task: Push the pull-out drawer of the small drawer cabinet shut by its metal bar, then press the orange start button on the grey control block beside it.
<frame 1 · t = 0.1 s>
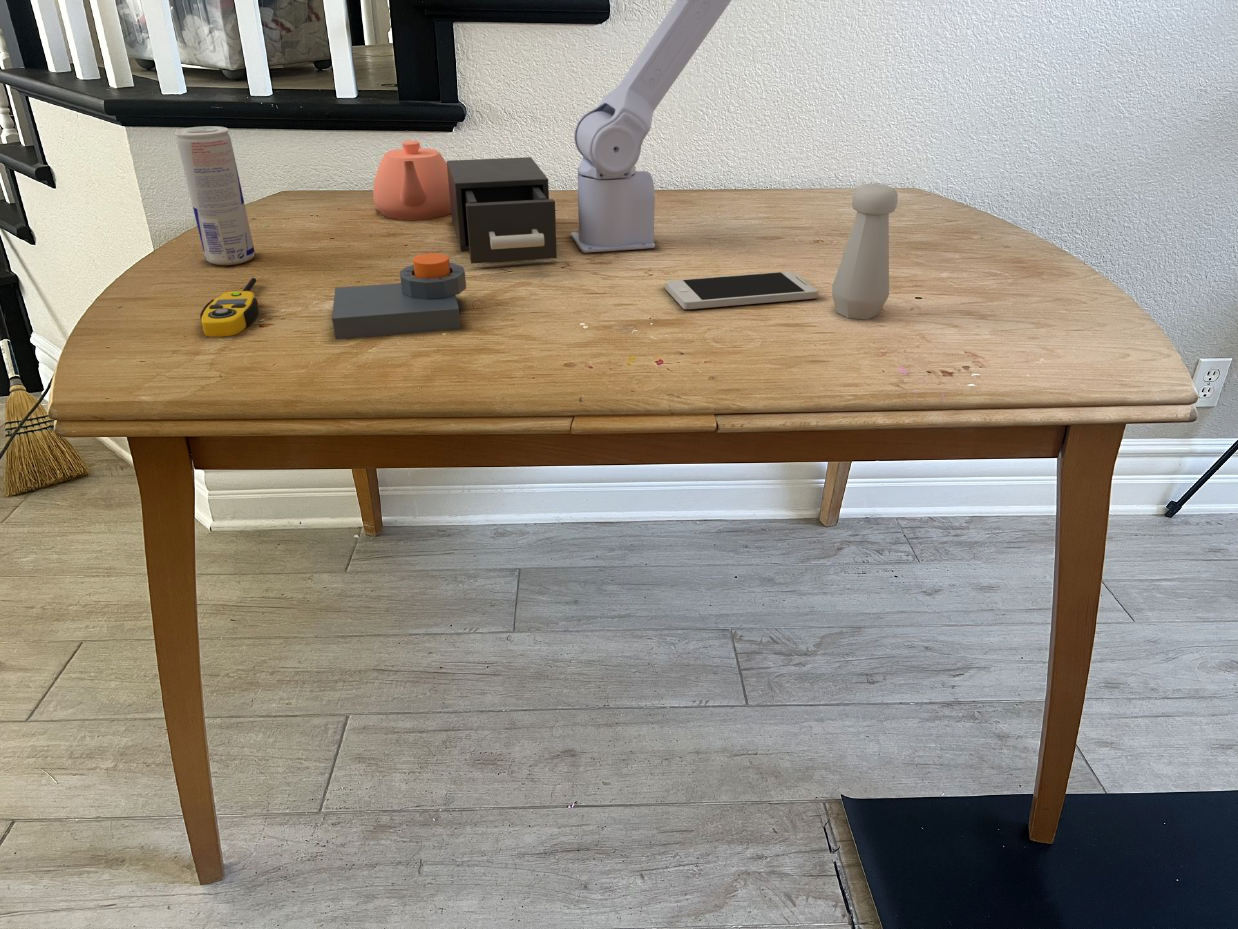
small drawer cabinet: (499, 234, 114), on the table
beverage can: (231, 261, 104), on the table
start button: (431, 266, 88), point 4 cm above the table, slide at 0.1 cm
salt shaker: (856, 314, 90), on the table
teapot: (418, 213, 123), on the table
control block: (397, 318, 88), on the table
pull-out drawer: (508, 223, 103), point 4 cm above the table, slide at 6.5 cm
yellow walkie talkie: (239, 311, 89), on the table
smartphone: (740, 294, 95), on the table
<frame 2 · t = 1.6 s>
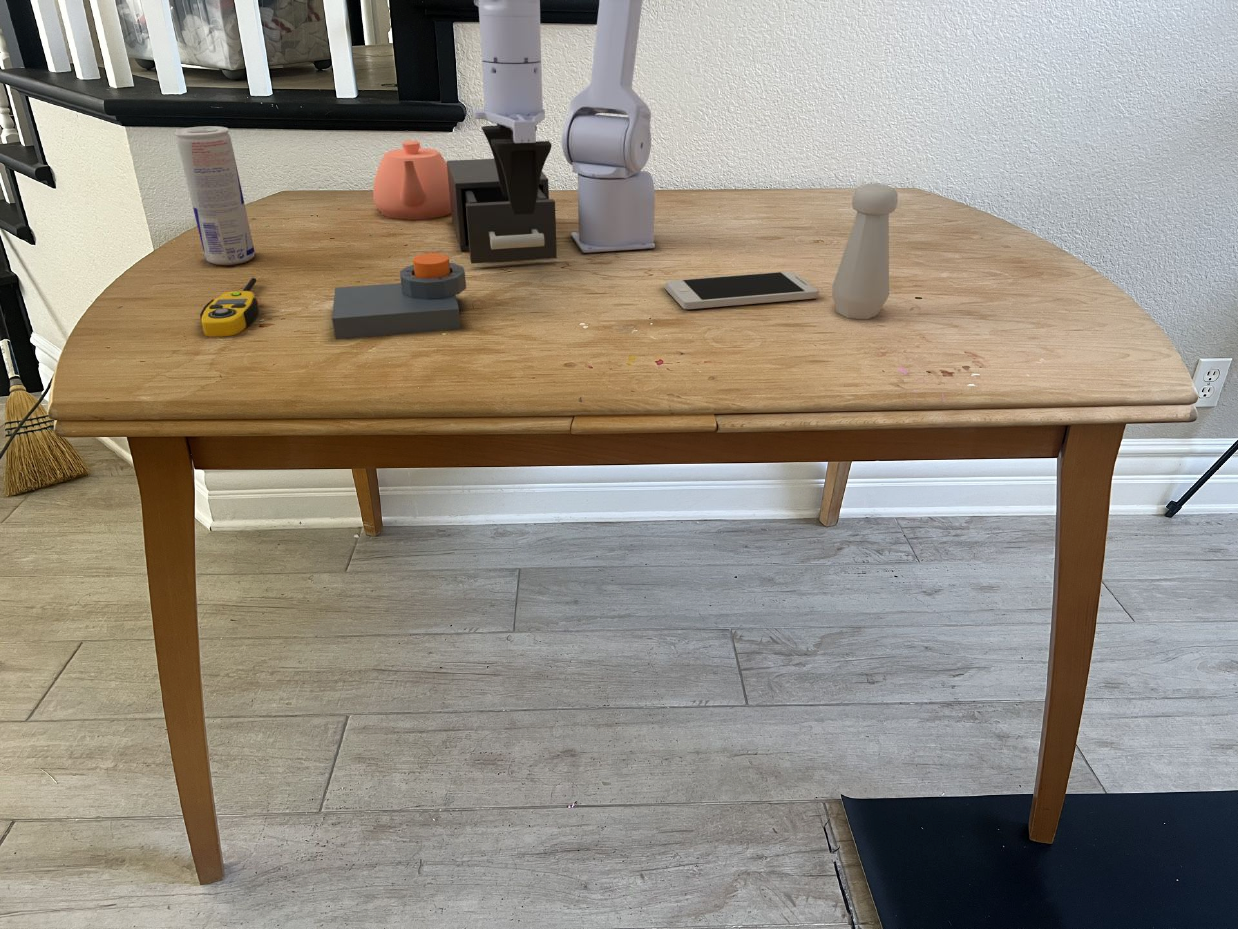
hand: (517, 204, 89), 10 cm above the table, tool pointing down, fingers open, 7 cm apart
nothing on the table moved.
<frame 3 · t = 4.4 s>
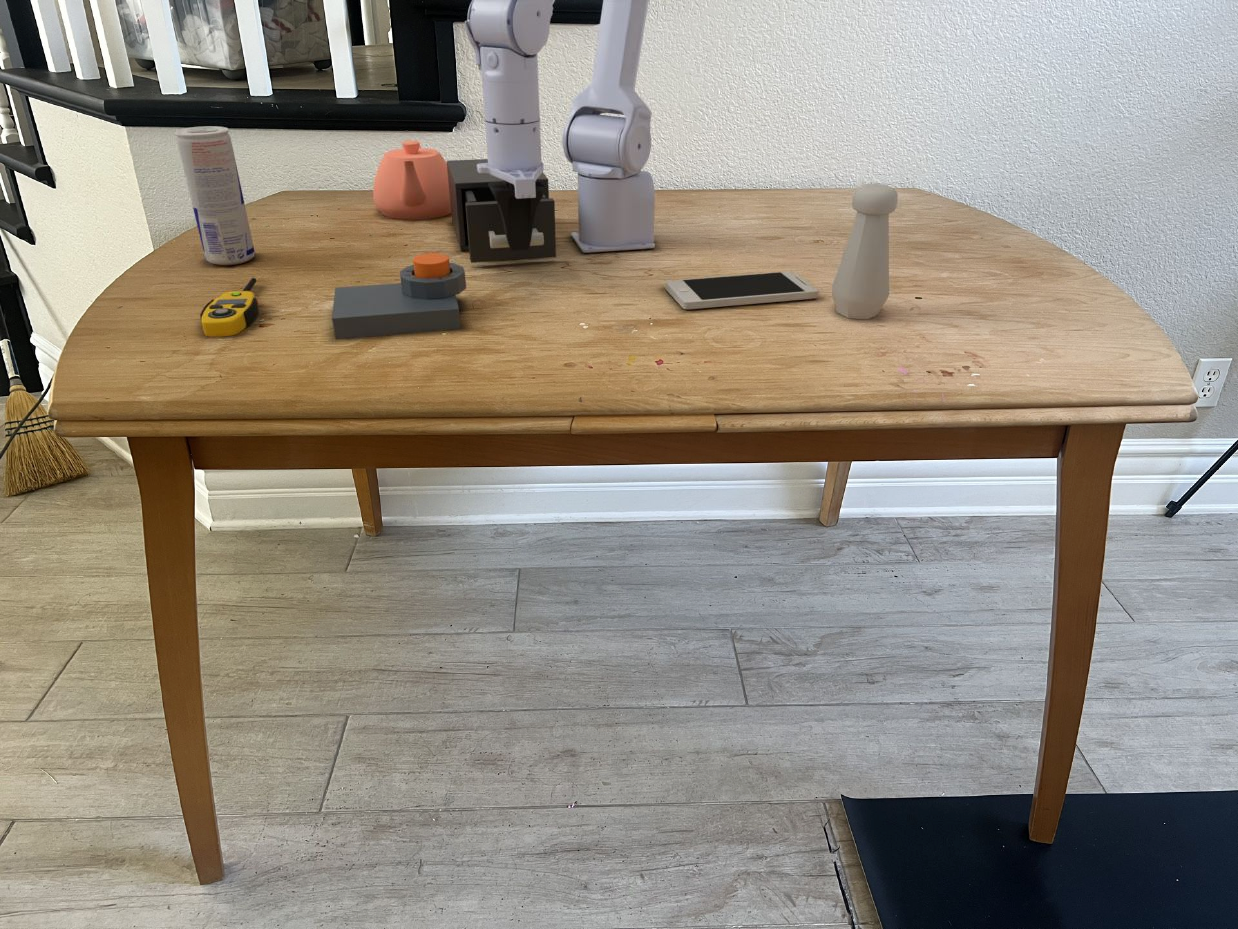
hand: (519, 248, 96), 4 cm above the table, tool pointing down, fingers closed
pull-out drawer: (507, 222, 103), point 4 cm above the table, slide at 6.1 cm, touching gripper
everything else where it was.
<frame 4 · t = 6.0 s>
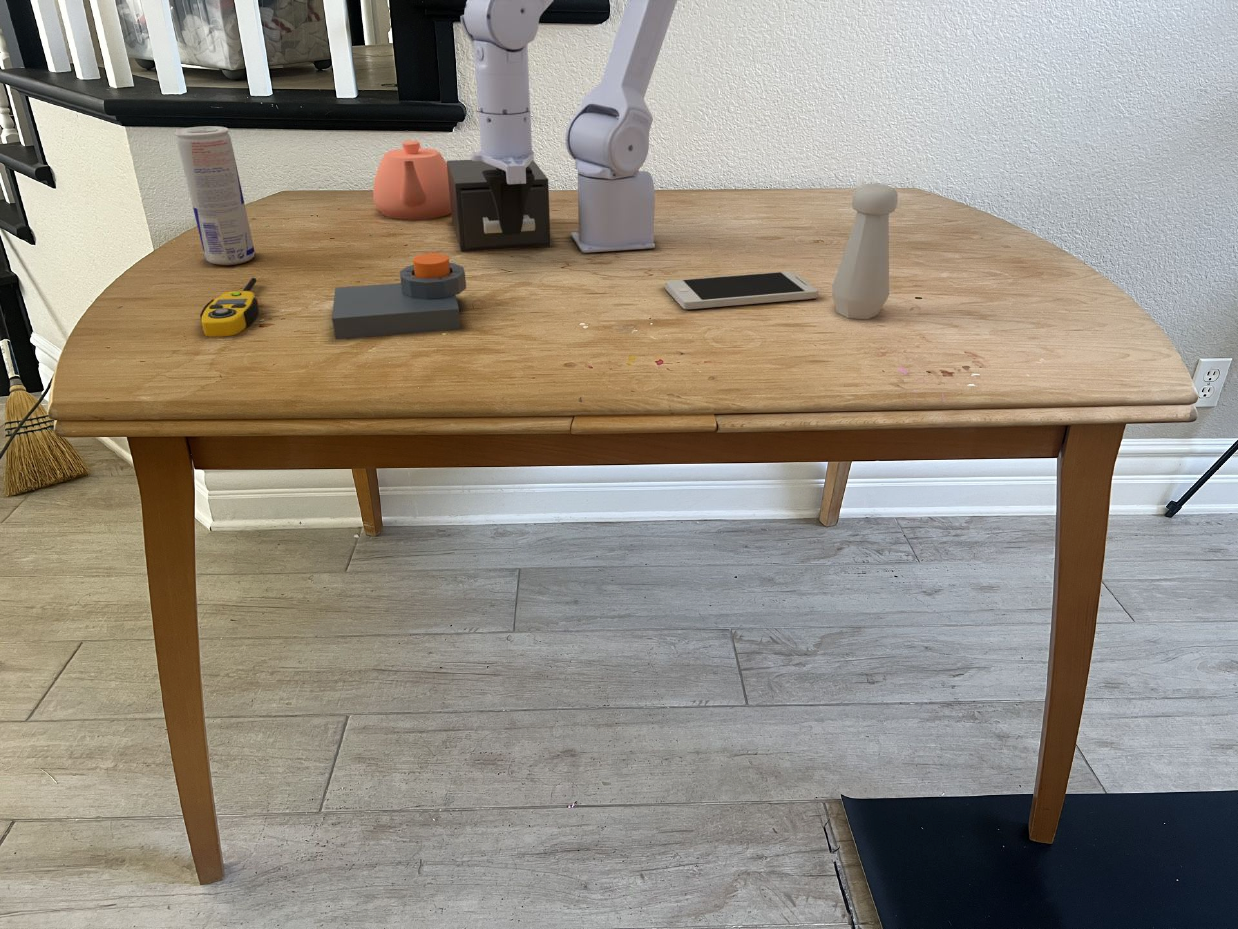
hand: (511, 233, 101), 4 cm above the table, tool pointing down, fingers closed
pull-out drawer: (501, 209, 109), point 4 cm above the table, slide at 0.0 cm, touching small drawer cabinet, gripper
everything else where it was.
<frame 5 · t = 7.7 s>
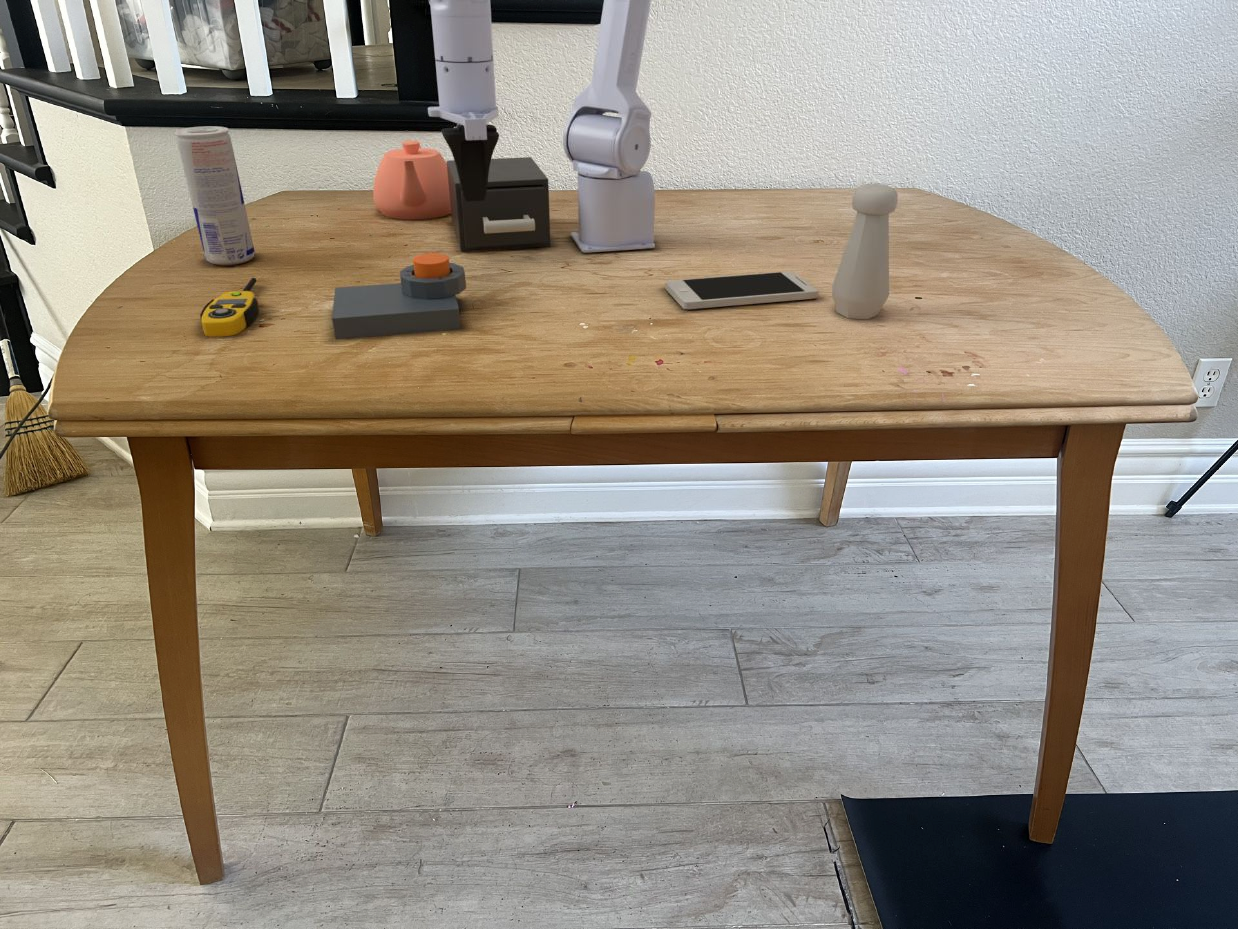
hand: (474, 199, 92), 10 cm above the table, tool pointing down, fingers closed
pull-out drawer: (501, 209, 109), point 4 cm above the table, slide at 0.0 cm
everything else where it was.
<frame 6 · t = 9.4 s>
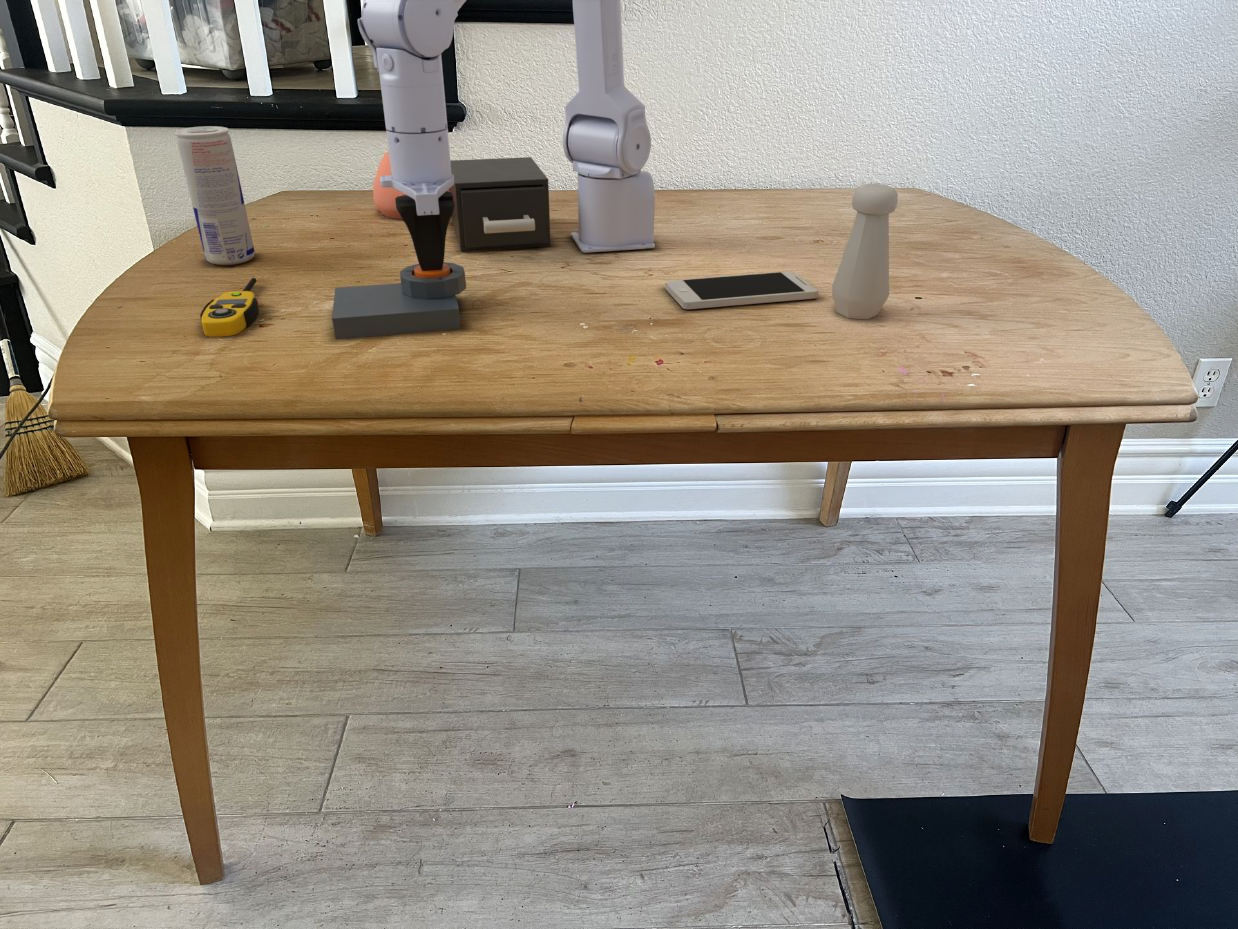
hand: (431, 268, 88), 4 cm above the table, tool pointing down, fingers closed, pressing on start button
start button: (432, 276, 88), point 3 cm above the table, slide at -0.9 cm, touching gripper
everything else where it was.
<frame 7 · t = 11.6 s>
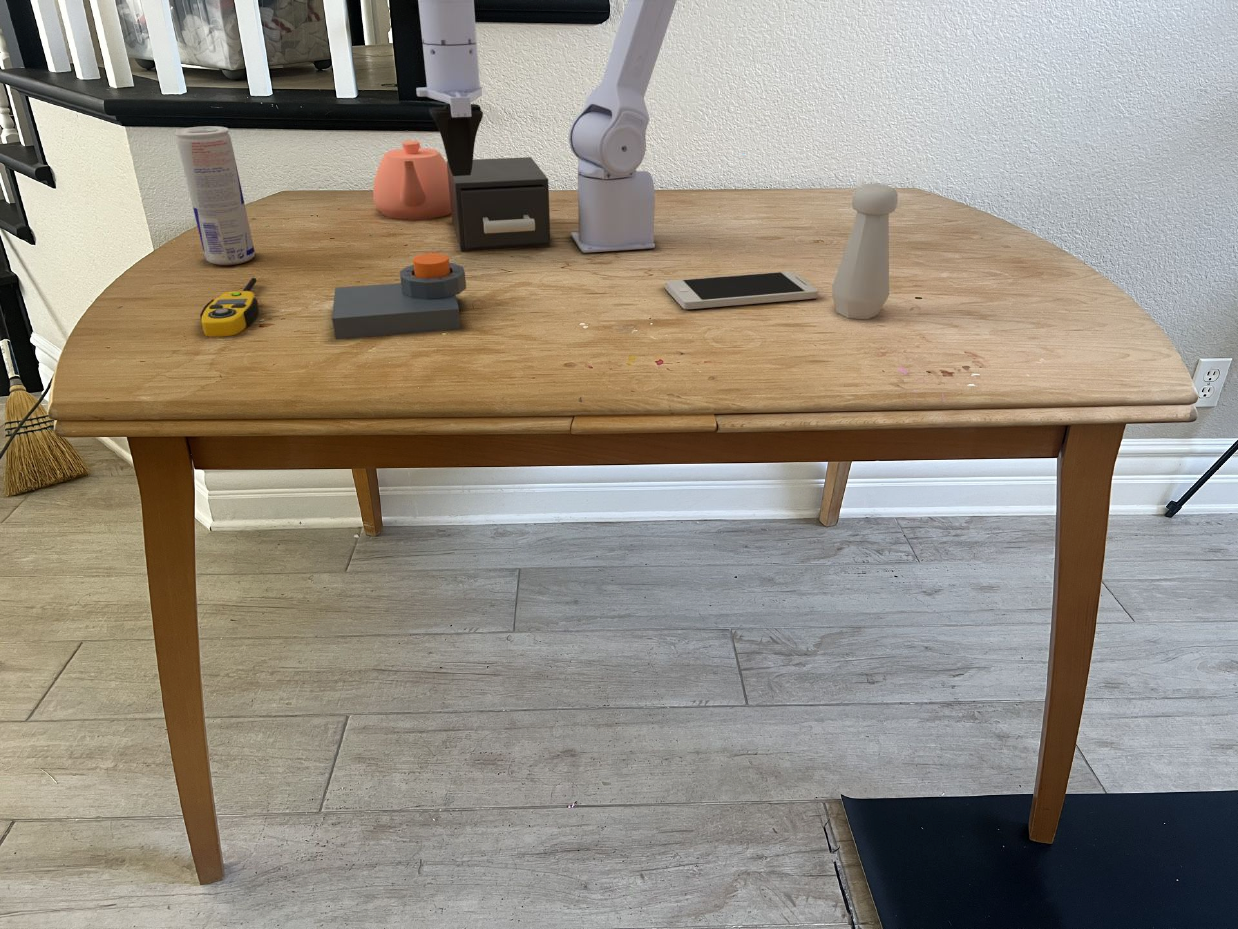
hand: (461, 174, 98), 10 cm above the table, tool pointing down, fingers closed
start button: (431, 266, 88), point 4 cm above the table, slide at 0.1 cm
everything else where it was.
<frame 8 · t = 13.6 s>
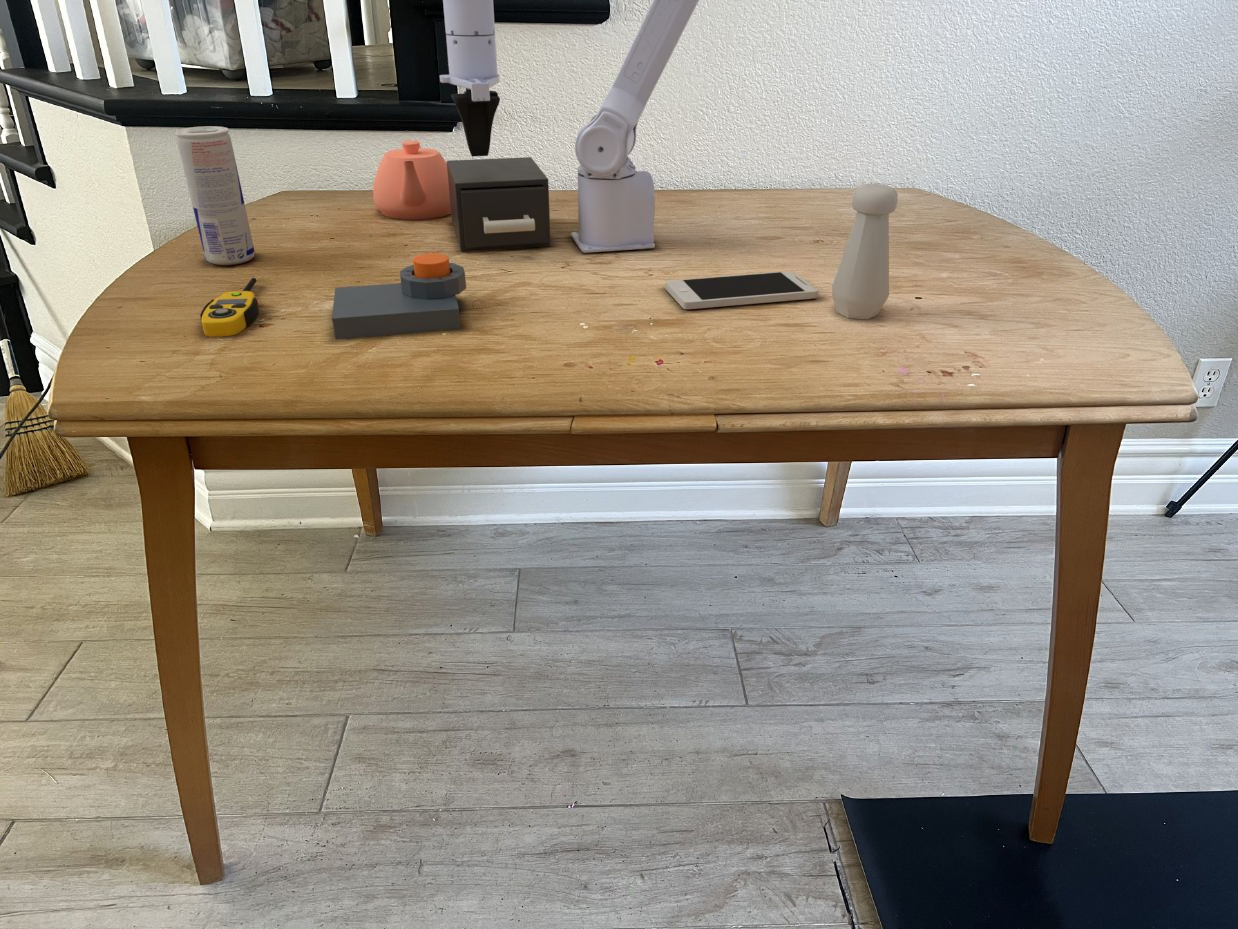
hand: (479, 155, 107), 10 cm above the table, tool pointing down, fingers closed
nothing on the table moved.
at the end: pull-out drawer slide at 0.0 cm; start button pushed in 1.2 cm at the most during the clip, back to where it started at the end; start button slide at 0.1 cm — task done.
